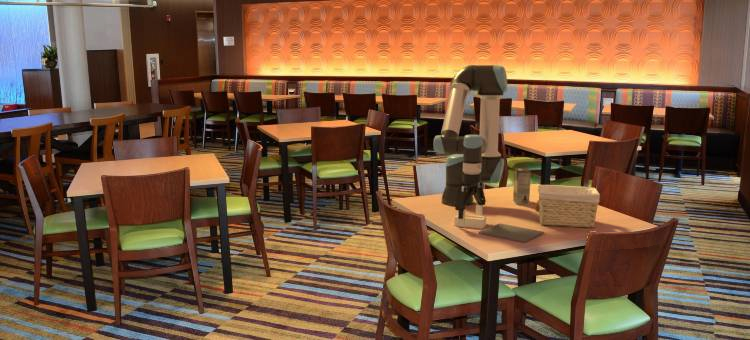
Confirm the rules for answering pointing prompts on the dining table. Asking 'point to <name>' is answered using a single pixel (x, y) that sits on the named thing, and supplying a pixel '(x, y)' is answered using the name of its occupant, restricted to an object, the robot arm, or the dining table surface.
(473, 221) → the cream striped block
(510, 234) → the mat
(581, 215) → the storage basket
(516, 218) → the dining table surface
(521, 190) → the coffee box
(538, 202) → the bread roll
